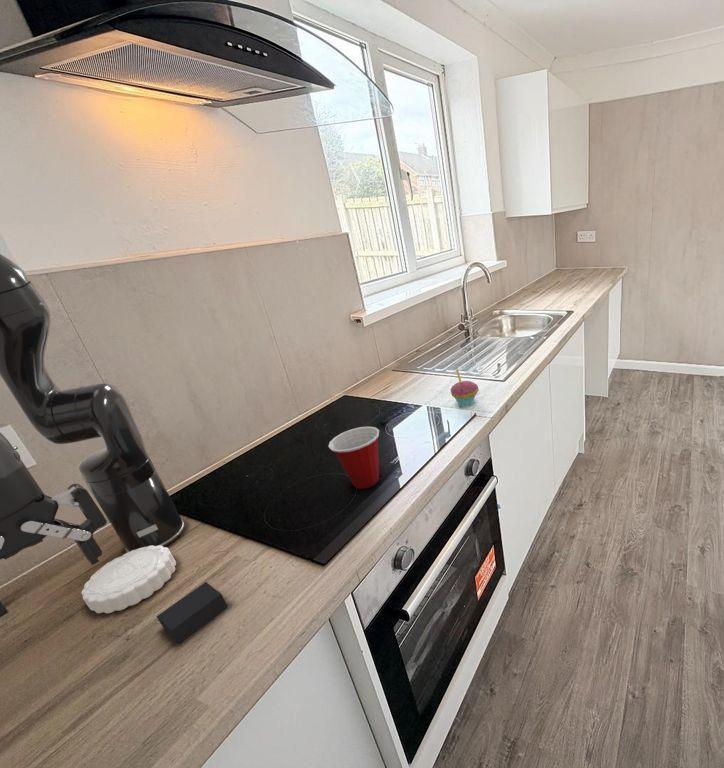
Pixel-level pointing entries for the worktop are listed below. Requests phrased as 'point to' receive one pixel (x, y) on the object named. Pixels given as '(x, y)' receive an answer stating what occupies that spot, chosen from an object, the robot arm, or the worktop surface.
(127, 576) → the mooncake
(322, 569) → the worktop surface
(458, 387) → the cupcake
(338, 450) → the plastic cup
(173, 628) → the eraser
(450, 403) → the worktop surface
